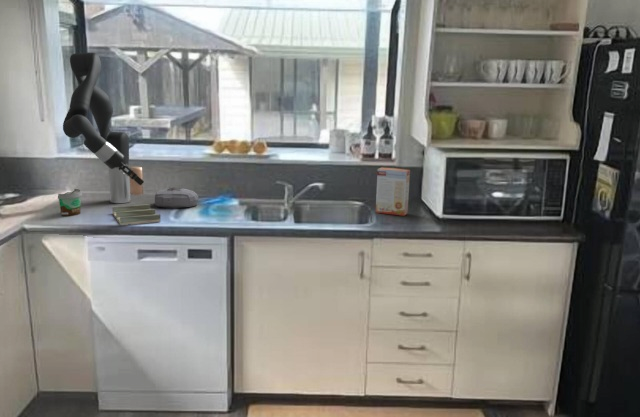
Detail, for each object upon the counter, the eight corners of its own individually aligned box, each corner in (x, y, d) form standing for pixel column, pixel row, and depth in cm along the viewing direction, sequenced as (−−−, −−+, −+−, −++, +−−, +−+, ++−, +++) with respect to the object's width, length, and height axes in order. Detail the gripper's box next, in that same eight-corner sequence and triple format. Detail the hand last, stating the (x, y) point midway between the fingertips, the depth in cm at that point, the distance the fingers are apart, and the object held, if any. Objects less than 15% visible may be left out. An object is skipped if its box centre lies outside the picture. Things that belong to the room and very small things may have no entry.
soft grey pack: (152, 208, 262) (195, 209, 262) (151, 190, 260) (195, 191, 260) (160, 201, 276) (201, 202, 277) (159, 184, 274) (201, 185, 275)
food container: (72, 218, 241) (70, 194, 239) (59, 216, 242) (57, 194, 240) (89, 211, 253) (87, 189, 250) (76, 210, 254) (75, 188, 252)
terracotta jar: (129, 192, 238) (127, 166, 236) (141, 192, 241) (140, 166, 238) (131, 195, 234) (130, 168, 231) (144, 194, 236) (143, 168, 234)
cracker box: (407, 213, 264) (410, 169, 259) (404, 216, 259) (407, 171, 254) (379, 210, 270) (381, 166, 265) (375, 212, 265) (377, 168, 260)
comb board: (112, 213, 250) (112, 207, 249) (149, 210, 257) (149, 204, 256) (120, 225, 232) (120, 218, 231) (160, 221, 239) (160, 214, 238)
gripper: (118, 150, 223) (150, 178, 232) (112, 146, 236) (143, 173, 244) (105, 164, 222) (138, 192, 230) (100, 159, 234) (131, 186, 243)
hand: (140, 182), depth 237 cm, fingers closed on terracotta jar, 5 cm apart
